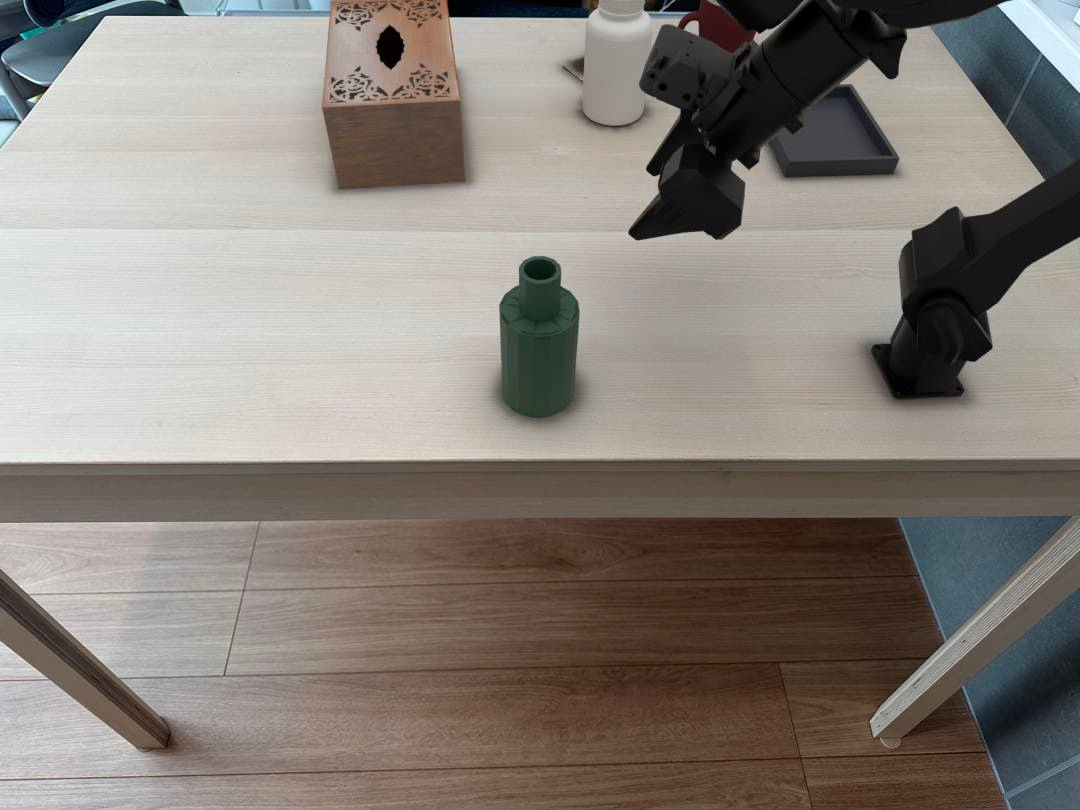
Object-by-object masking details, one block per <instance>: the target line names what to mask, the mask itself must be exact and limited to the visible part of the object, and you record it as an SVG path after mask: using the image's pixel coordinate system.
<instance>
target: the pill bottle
mask: <svg viewBox="0 0 1080 810" xmlns="http://www.w3.org/2000/svg"><path fill="white" fill-rule="evenodd" d="M645 3H646V0H599V4H598V8H597V9H596V10H594V11H593V12H592V13H591V14H590V16H589V15H588V18H587V20H586V24H585V38H584V79H583V81H582V82H583V83H582V84H583V85H582V99H581V100H582V101H581V103H582V111H583V114H584V115H585V117H586V118H588V119H589V120H591V121H592V122H594V123H597V124H600V125H603V126H611V127H613V126H615V127H616V126H625V125H630V124H633V123H634V122H636V121H637V120H639V119H640V118H641V117H642V115H643V113H644V109H645V102H646V95H647V94H646V93H644V92H643V91H642V90H641V89H640V87H639V81H640V79H641V76H642V73H643V70H644V66H645V64H646V61H647V59H648V57H649V54H650V52H651V50H652V40H653V33H654V32H653V31H654V25H653V21H652V18H651V16H650V15H649V13H647V11H645V10H644V9H645Z"/></svg>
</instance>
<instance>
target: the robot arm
mask: <svg viewBox="0 0 1080 810" xmlns="http://www.w3.org/2000/svg"><path fill="white" fill-rule="evenodd" d="M715 1H716V2H717V3H718V4H719V5H720V6H721V7H722V8H723V9H724V10H725V11H726V12H727V13H728V14H729V15H730V16H731V17H732V18H733V19H734V20H735V21H736V22H737V23H738V24H739V25H740V26H741V27H742V28H743V29H744V30H745V31H750V30H753V29H754V30H755V31H756V34H758V35H761V34H762V33H764V32H765V31H766V30H768V31H770V30H773V29H774V30H773V31H772V32H771V33H770V34H769V35H768V36H767V37H766V38H765V39H764V40H763V41H761V43H759V44H758V42H757V41H755V40H754V39H753V40H752V41H751V42H750V43H749V44H748V43H747V42H745V43H743V44H742V45H741V46H740V47H739V48H738V49H737V50H736V51H735V52H734V53H730V52H728V51H726V50H724V49H722V48H720V47H719V46H718V45H716V44H715V43H713V42H711V41H709V40H707V39H704V38H702V37H700V36H699V35H697V34H695V33H692V32H691V31H688V30H686V29H684V30H683V29H681V28H679V27H678V26H676V25H673V24H670V23H665V24H662V25H661V26H660V28H659V31H658V34H657V36H656V38H655V40H654V43H653V45H652V46H651V50H650V54H649V57H648V59H647V61H646V64H645V66H644V70H643V73H642V76H641V79H640V81H639V87H640V89H641V90H642V91H643V92H644V93H646V95H648V96H650V97H652V98H654V99H656V100H658V101H660V102H663V103H665V104H667V105H669V106H672V107H673V108H676V109H679V112H680V113H679V115H678V116H677V118H676V120H675V121H674V122H673V124H672V126H671V128H670V129H669V131H668V132H667V134H666V135H665V136H664V139H663V140H662V141H661V143H660V145H659V146H658V148H657V149H656V150H655V152H654V153H653V155H652V157H651V159H650V160H649V161H648V163H647V165H646V166H645V171H646V172H647V173H648V174H649V175H651V176H652V177H657V176H659V177H658V181H657V191H658V193H657V194H656V195H655V196H654V197H653V199H652V200H651V201H650V203H649V204H648V205H647V206H646V207H645V208H644V210H643V211H642V212H641V213H640V214H639V215H638V217H637V218H636V219H635V221H634V222H633V224H631V226H630V227H629V229H628V230H627V234H628V235H629V236H630V237H631V238H632V239H634V240H635V241H637V242H638V241H643V240H645V241H646V240H649V239H655V238H660V237H667V236H673V235H679V234H686V233H687V234H689V233H700V232H704V233H705V234H706V235H707V236H710V237H711V238H713V239H714V240H715V241H722V240H724V239H725V238H727V237H728V236H729V235H730V234H732V233H733V232H734V231H735V230H737V229H738V228H740V227H741V226H742V222H743V221H742V220H743V215H744V214H743V213H744V205H745V199H746V198H745V197H746V181H744V180H743V179H742V178H741V177H740V176H739V175H738V174H736V173H735V172H734V171H733V170H732V168H733V167H732V166H733V162H735V161H736V160H737V161H738V162H739V163H740V164H741V165H743V167H745V168H746V169H747V170H748V171H750V170H751V169H753V168H754V167H755V166H756V165H758V164H759V163H760V159H761V158H760V157H761V152H762V151H761V150H762V148H763V147H765V146H766V145H767V144H769V141H771V140H772V139H773V138H774V137H775V136H777V135H778V134H779V133H780V132H782V131H783V130H784V129H785V128H786V129H787V130H788V131H789V132H790V133H791V134H792V135H793V134H794V133H796V132H797V131H798V130H799V129H801V128H802V127H803V126H804V120H805V112H806V111H807V110H808V109H810V108H811V107H812V106H813V105H814V104H816V103H817V102H818V101H819V100H821V99H822V98H823V97H824V96H825V95H827V94H828V93H829V92H830V91H831V90H833V89H834V88H835V87H836V86H838V85H839V84H842V82H844V81H845V80H846V79H847V78H849V77H850V76H851V75H853V74H854V73H855V72H856V71H857V70H859V69H860V68H861V67H863V66H864V64H866V63H867V62H868V61H870V62H871V63H872V64H873V65H874V66H875V67H876V68H877V69H878V70H879V71H880V72H881V74H883V76H884V77H885V78H886V79H888V80H895V79H897V78H898V76H899V74H900V61H901V55H902V52H903V49H904V47H905V44H906V42H907V41H908V31H907V30H913V29H921V28H926V27H930V26H934V25H939V24H945V23H951V22H956V21H960V20H964V19H969V18H972V17H974V16H977V15H979V14H981V13H983V12H986V11H988V10H991V9H992V8H994V7H997V6H999V5H1001V4H1004V3H1007V2H1011V1H1013V0H806V1H805V0H715ZM1079 238H1080V158H1079V159H1078V160H1076V161H1074V162H1072V163H1071V164H1069V165H1068V166H1066V167H1064V168H1062V169H1061V170H1060V171H1057V172H1056V173H1055V174H1053V175H1052V176H1050V177H1048V178H1047V179H1045V180H1044V181H1042V182H1041V183H1039V184H1037V185H1035V186H1034V187H1033V188H1031V189H1029V190H1028V191H1026V192H1024V193H1022V194H1021V195H1020V196H1018V197H1016V198H1015V199H1013V200H1011V201H1010V202H1008V203H1007V204H1005V205H1004V206H1002V207H1000V208H998V209H996V210H994V211H992V212H990V213H984V214H977V215H969V216H965V215H964V213H963V212H962V211H961V209H960V207H959V206H956V205H955V206H953V207H949V208H948V209H946V210H945V211H944V212H942V214H940V215H939V216H938V217H937V218H935V220H933V221H932V222H930V223H928V224H926V225H924V226H922V227H918V228H916V229H913V230H911V239H910V240H909V241H908V242H907V243H905V244H904V245H903V247H902V249H901V250H900V254H899V258H898V275H899V276H898V277H899V290H900V304H901V311H902V314H901V316H900V318H899V321H898V322H897V324H896V326H895V329H894V331H893V332H892V335H891V337H890V339H889V341H890V342H889V343H874V344H873V345H872V346H871V349H870V351H871V354H872V355H873V358H874V360H875V362H876V364H877V367H878V368H879V370H880V372H881V374H882V377H883V379H884V380H885V383H886V385H887V387H888V389H889V391H890V393H891V395H892V397H893V398H894V399H897V400H908V399H909V400H910V399H911V400H912V399H929V398H930V399H931V398H932V399H933V398H950V397H951V398H952V397H953V398H954V397H962V396H963V394H964V393H965V388H964V386H963V384H962V382H961V380H960V379H959V377H958V376H959V375H960V373H961V371H962V370H963V368H964V367H965V366H966V364H967V362H970V363H975V362H978V361H979V360H980V359H981V358H983V357H984V356H985V355H986V354H988V353H989V352H991V351H992V350H993V349H994V345H993V339H992V332H991V328H990V327H991V326H990V322H989V315H988V311H989V310H990V309H992V308H993V307H994V306H996V305H998V304H999V302H1001V300H1002V299H1003V298H1004V296H1005V295H1006V294H1007V293H1008V292H1009V290H1010V289H1011V287H1012V286H1013V285H1014V284H1015V282H1016V281H1017V280H1018V278H1019V277H1020V276H1021V275H1022V274H1023V272H1024V271H1025V270H1026V269H1027V268H1029V267H1030V266H1031V265H1033V264H1035V263H1036V262H1038V261H1040V260H1042V259H1043V258H1045V257H1047V256H1049V255H1051V254H1052V253H1054V252H1056V251H1058V250H1060V249H1061V248H1063V247H1065V246H1067V245H1069V244H1071V243H1072V242H1074V241H1076V240H1078V239H1079Z"/></svg>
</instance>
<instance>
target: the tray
mask: <svg viewBox="0 0 1080 810" xmlns="http://www.w3.org/2000/svg"><path fill="white" fill-rule="evenodd" d="M768 144H769V146H770V148H771V150H772V153H773V155H774V157H775V158H776V161H777V163H778V165H779V167H780V170H781V172H782V174H783V176H784V177H785V178H793V177H794V178H795V177H827V176H829V177H831V176H859V175H863V176H864V175H891V174H895V171H896V169H897V166H898V163H899V161H900V159H901V158H900V157H899V154H898V153H897V151H896V150H895V148H894V147H893V145H892V144H891V142H890V141H889V138H887V136H886V135H885V133H884V131H883V130H882V128H881V126H880V125H879V123H878V122H877V121H876V119H875V118H874V115H873V114H872V113H871V111H870V110H869V108H868V106H867V105H866V103H865V102H864V101H863V98H861V95H860V94H859V93H858V91H857V89H856V88H855V86H854V85H853V84H852V83H845V84H844V83H840V84H839V85H838V86H836V87H835V88H834V89H833V90H831V91H830V92H829V93H828V94H827V95H825V96H824V97H823V98H822V99H821V100H819V101H818V102H817V103H816V104H814V105H813V106H812V107H811V108H810V109H808V110H807V111H806V112H805V120H804V126H803V127H802V128H801V129H799V130H798V131H797V132H796V133H794V134H793V135H792V134H791V133H790V132H789V131H788V130H787V129H786V128H785V129H784V130H783V131H782V132H780V133H779V134H778V135H777V136H775V137H774V138H773V139H772V140H771V141H769V142H768Z"/></svg>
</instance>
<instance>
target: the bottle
mask: <svg viewBox="0 0 1080 810" xmlns="http://www.w3.org/2000/svg"><path fill="white" fill-rule="evenodd" d="M561 267H562V266H561V264H560V263H559V262H558V261H557V260H556V259H554V258H551V257H549V256H545V255H533V256H530V257H528V258H526V259H524V260H523V261H522V262H521V264H519V266H518V284H517V285H516V286H514V287H512V288H511V289H509V291H507V292H505V294H504V295H503V296H502V298H501V301H500V302H499V304H498V306H499V307H498V310H499V311H498V312H499V339H500V341H499V342H500V366H501V367H500V368H501V369H500V370H501V390H502V391H501V393H502V397H503V399H504V401H505V403H506V404H507V406H509V407H510V408H511V409H512V410H513V411H515V412H516V413H518V414H520V415H523V416H526V417H532V418H546V417H551V416H553V415H556V414H558V413H560V412H563V410H564V409H565V408H567V407H568V405H569V404H570V403H571V401H572V399H573V397H574V391H575V382H576V371H577V369H576V368H577V356H578V355H577V354H578V344H579V343H578V342H579V328H580V315H581V314H580V313H581V311H580V305H579V301H578V299H577V298H576V297H575V295H574V294H573V293H572V292H571V290H569V289H568V288H565V287H563V286H562V285H561V284H562V268H561Z"/></svg>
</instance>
